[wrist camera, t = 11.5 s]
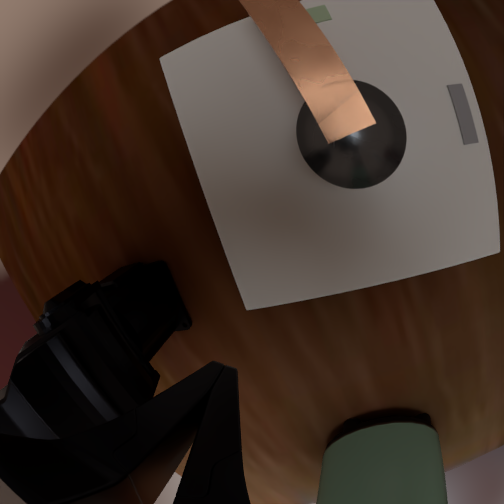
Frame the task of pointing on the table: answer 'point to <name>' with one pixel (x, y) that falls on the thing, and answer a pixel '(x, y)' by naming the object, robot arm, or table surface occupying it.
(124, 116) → the table surface
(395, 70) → the base plate
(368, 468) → the juicer
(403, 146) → the lever
